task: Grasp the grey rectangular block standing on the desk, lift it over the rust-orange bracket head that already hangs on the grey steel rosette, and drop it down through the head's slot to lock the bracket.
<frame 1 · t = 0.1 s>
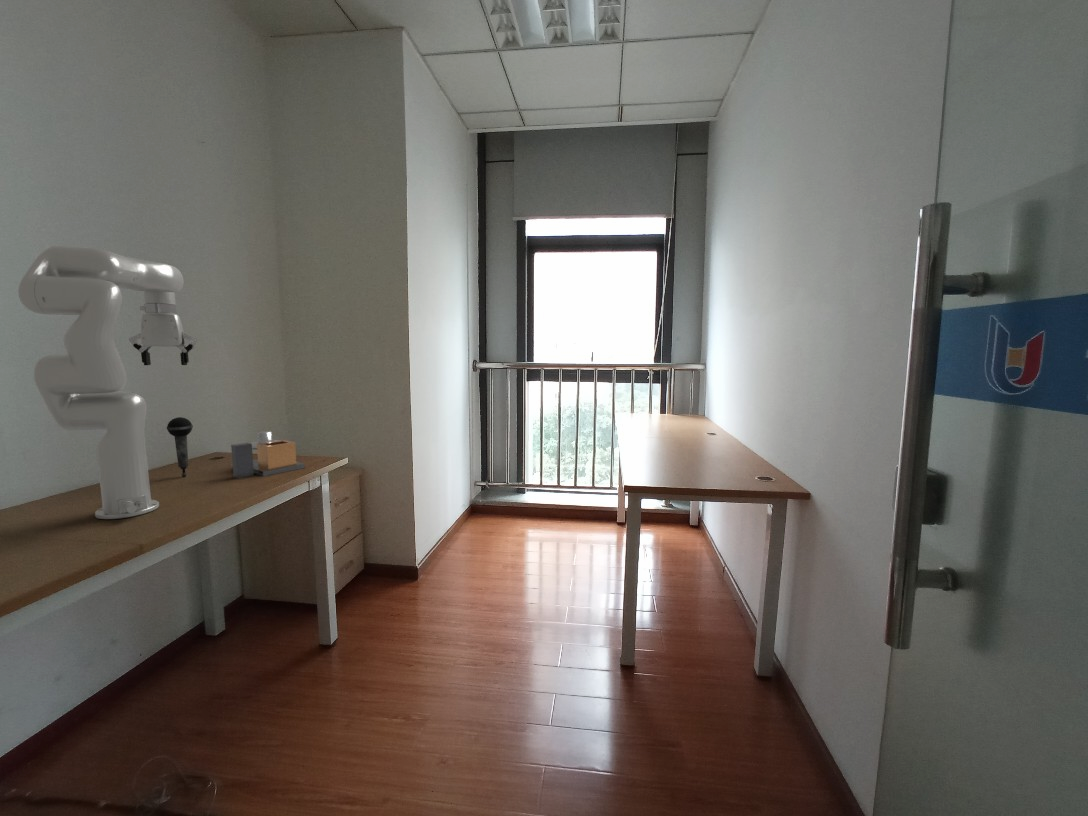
hand: (166, 365, 149), 37 cm above the table, tool pointing down, fingers open, 9 cm apart
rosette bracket: (277, 469, 166), on the table
microphone: (184, 477, 156), on the table
grey rectangular block: (243, 476, 157), on the table
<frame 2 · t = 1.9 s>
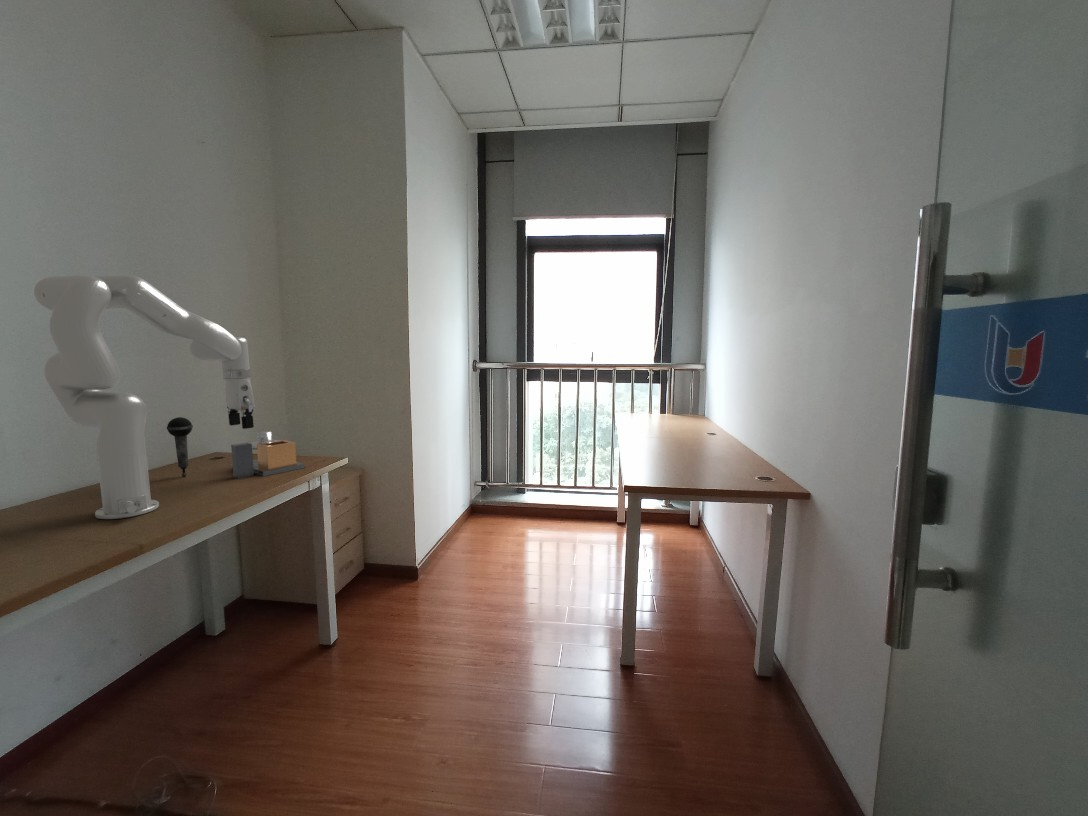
hand: (241, 426, 156), 17 cm above the table, tool pointing down, fingers open, 9 cm apart
nothing on the table moved.
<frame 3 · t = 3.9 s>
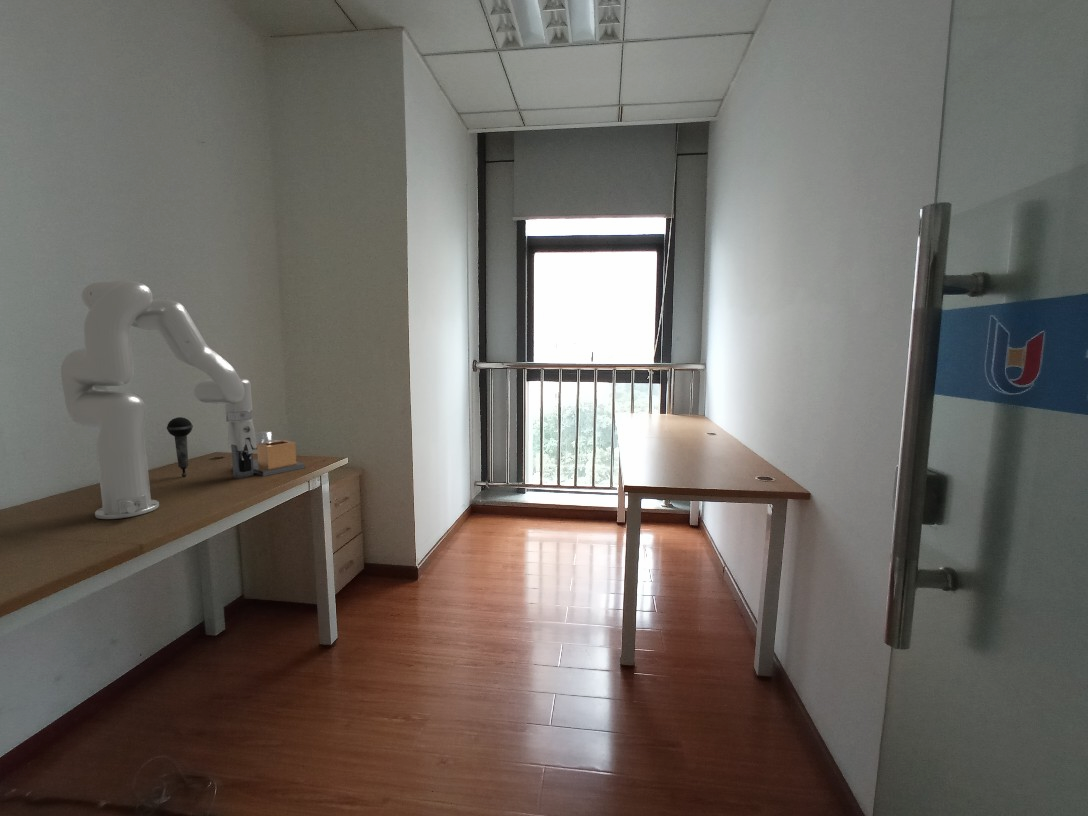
hand: (243, 469, 157), 2 cm above the table, tool pointing down, fingers closed on grey rectangular block, 3 cm apart
grey rectangular block: (243, 476, 157), on the table, touching gripper
everything else where it was.
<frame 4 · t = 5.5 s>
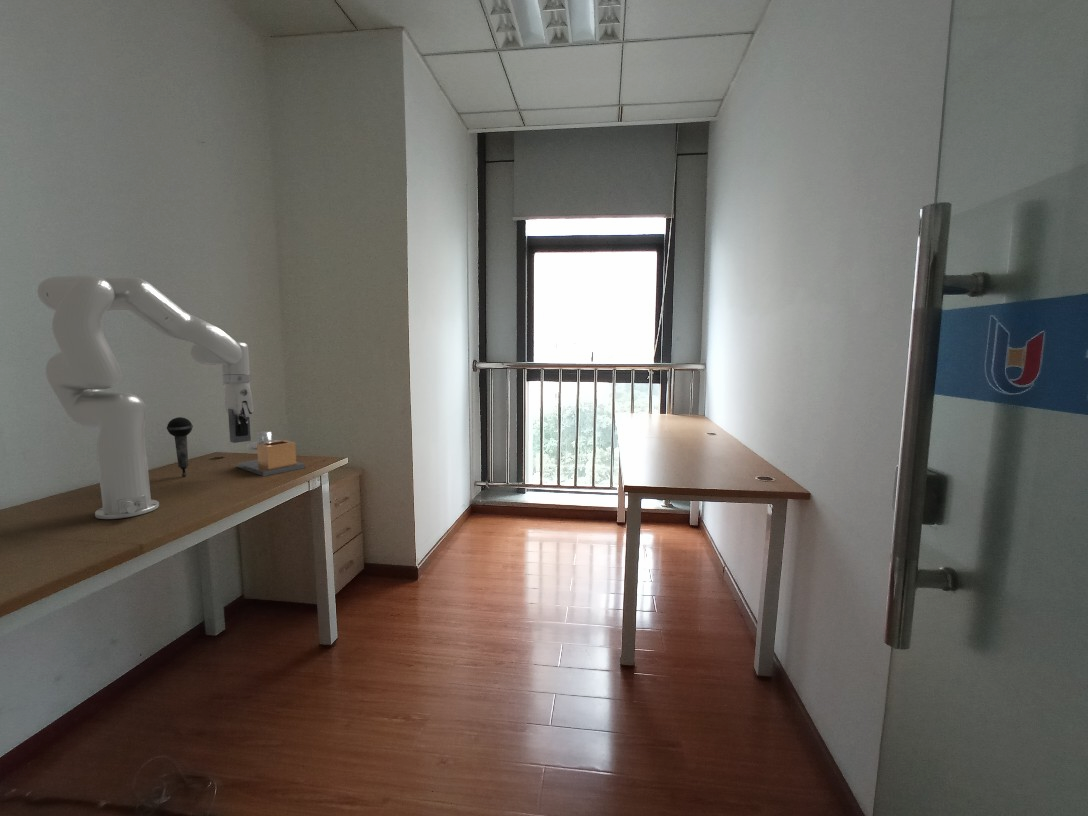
hand: (239, 434, 155), 14 cm above the table, tool pointing down, fingers closed on grey rectangular block, 3 cm apart
grey rectangular block: (240, 441, 156), point 12 cm above the table, touching gripper
everything else where it was.
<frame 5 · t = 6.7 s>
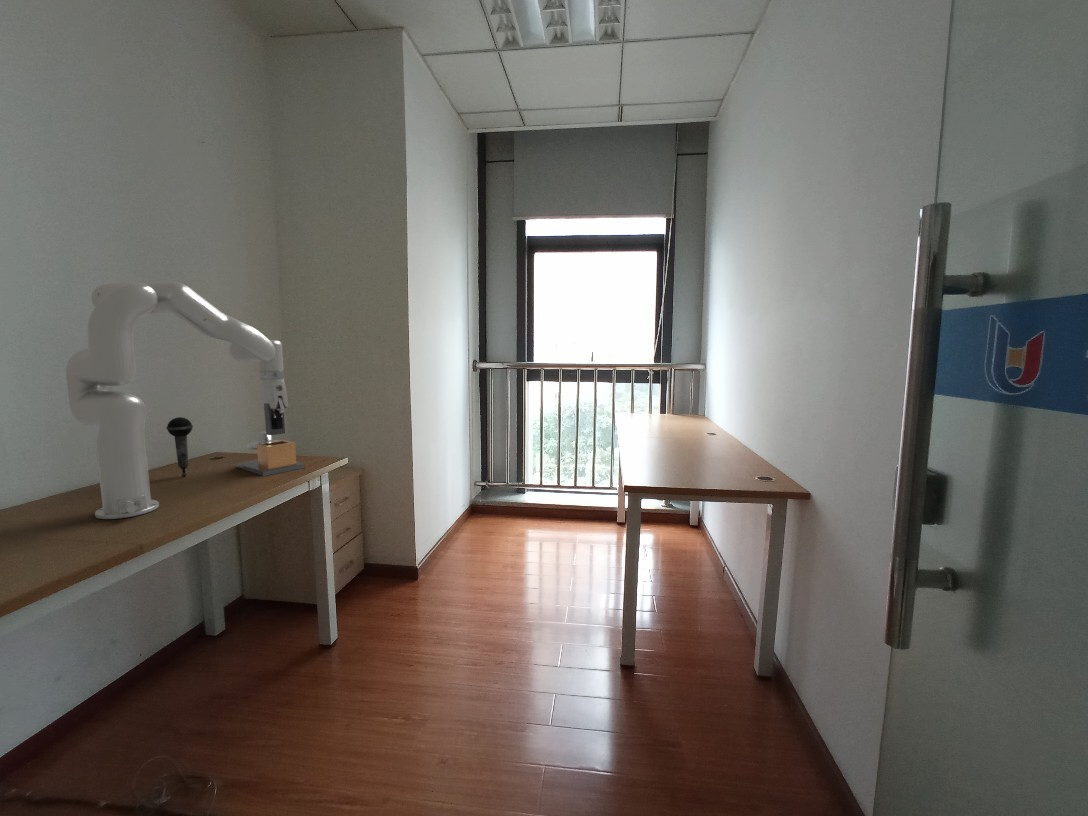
hand: (275, 427, 164), 15 cm above the table, tool pointing down, fingers closed on grey rectangular block, 3 cm apart
grey rectangular block: (275, 433, 165), point 13 cm above the table, touching gripper
everything else where it was.
when the fingers open (13 cm above the table, at t = 7.5 s): grey rectangular block drops 9 cm, resting on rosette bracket.
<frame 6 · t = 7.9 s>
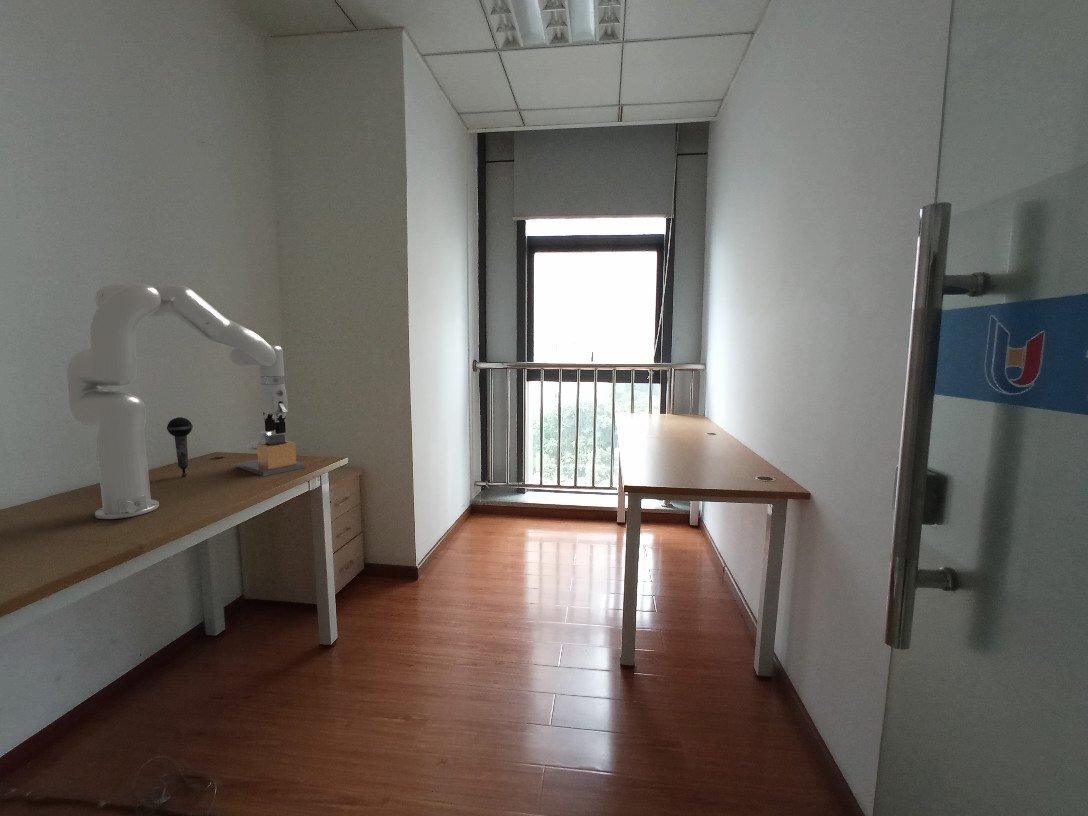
hand: (275, 431, 165), 14 cm above the table, tool pointing down, fingers open, 6 cm apart
grey rectangular block: (277, 465, 166), point 2 cm above the table, touching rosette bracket
everything else where it was.
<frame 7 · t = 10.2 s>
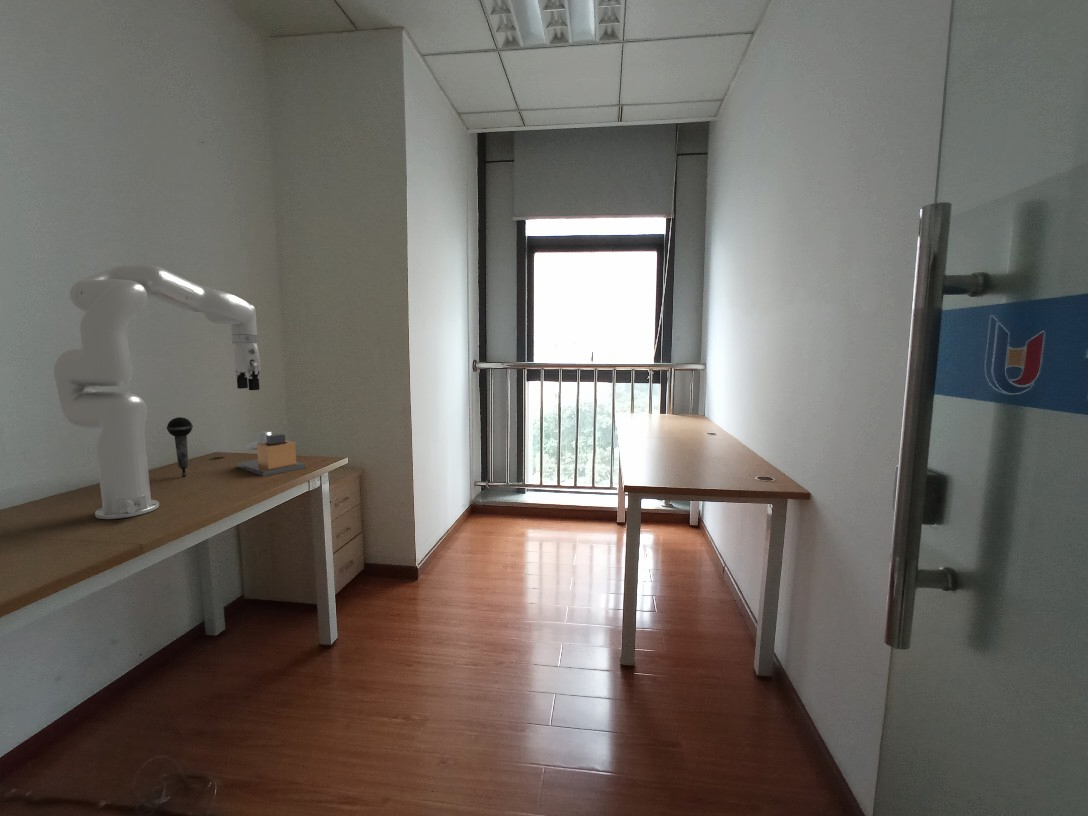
hand: (248, 389, 165), 28 cm above the table, tool pointing down, fingers open, 9 cm apart
nothing on the table moved.
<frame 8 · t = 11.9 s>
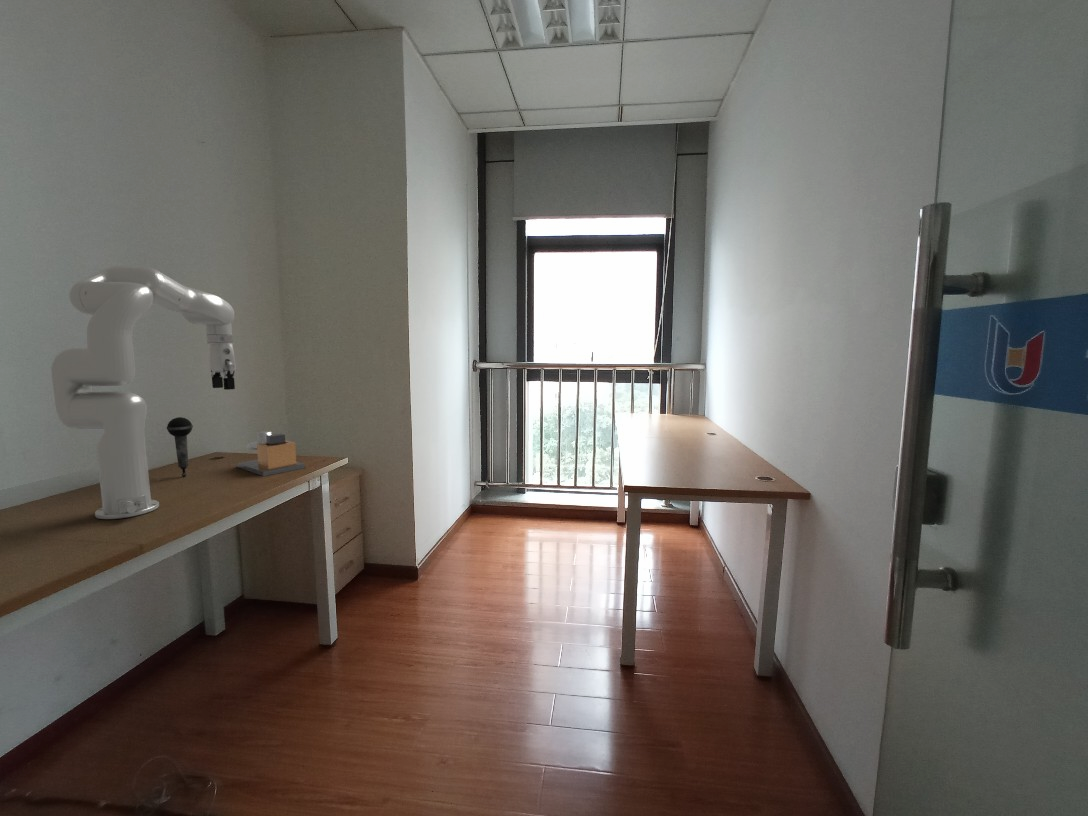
hand: (223, 388, 167), 28 cm above the table, tool pointing down, fingers open, 9 cm apart
nothing on the table moved.
at the end: grey rectangular block 0.1 cm off-centre on the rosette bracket, point 1.5 cm above the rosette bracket's base; grey rectangular block tilted 0°; the gripper is holding nothing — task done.
